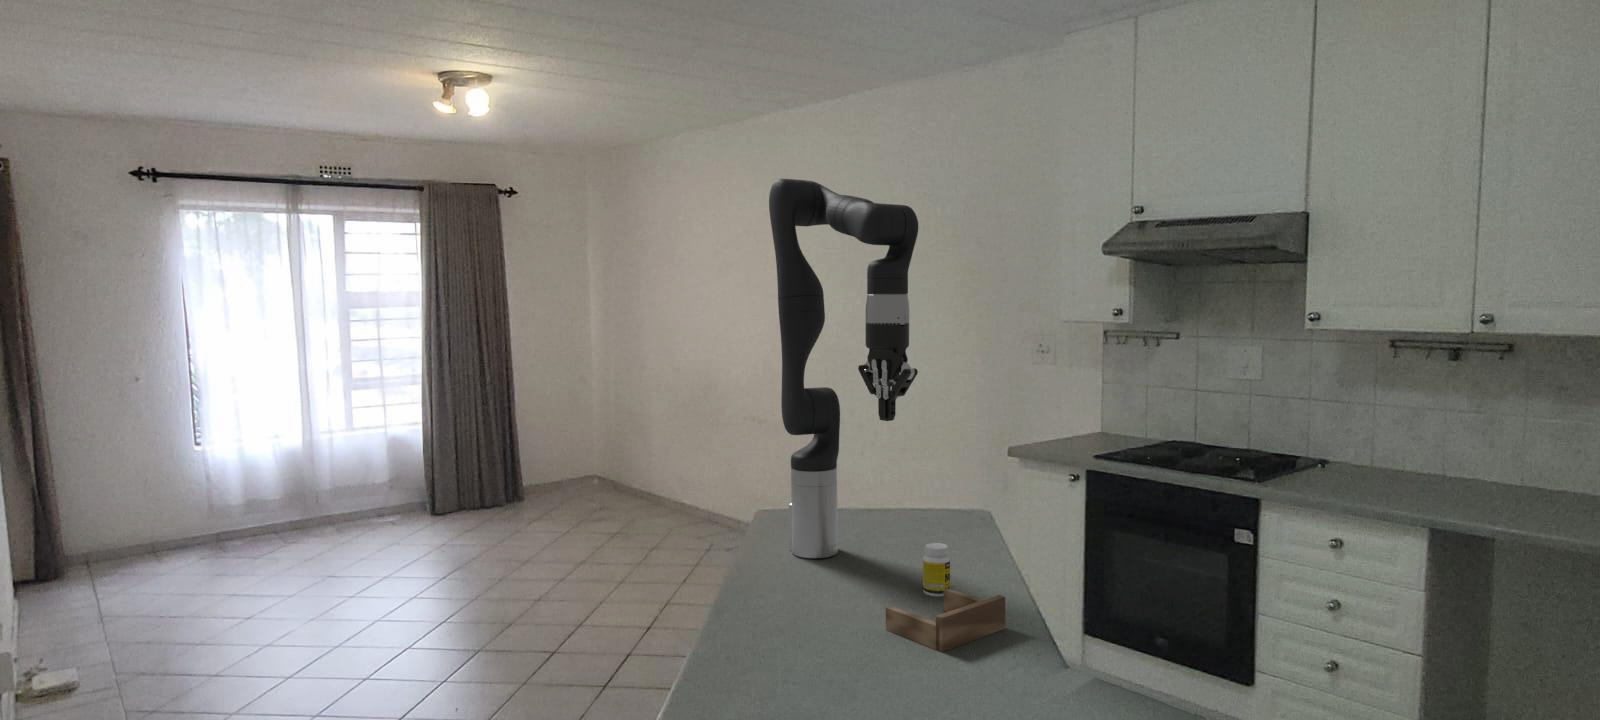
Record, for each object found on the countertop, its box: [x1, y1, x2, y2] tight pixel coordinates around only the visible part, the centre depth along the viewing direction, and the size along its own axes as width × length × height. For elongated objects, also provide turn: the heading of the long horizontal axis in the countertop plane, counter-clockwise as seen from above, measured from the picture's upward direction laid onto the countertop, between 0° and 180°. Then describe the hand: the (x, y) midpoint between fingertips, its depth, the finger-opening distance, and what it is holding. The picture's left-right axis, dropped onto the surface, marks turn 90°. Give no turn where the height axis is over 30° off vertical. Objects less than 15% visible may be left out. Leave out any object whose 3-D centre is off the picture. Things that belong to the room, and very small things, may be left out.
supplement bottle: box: [922, 542, 951, 597], centre depth 148 cm, size 5×5×8 cm
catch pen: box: [885, 588, 1006, 653], centre depth 131 cm, size 12×14×5 cm
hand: (887, 420), depth 147 cm, fingers closed
